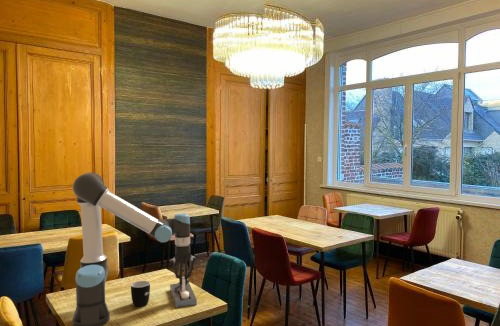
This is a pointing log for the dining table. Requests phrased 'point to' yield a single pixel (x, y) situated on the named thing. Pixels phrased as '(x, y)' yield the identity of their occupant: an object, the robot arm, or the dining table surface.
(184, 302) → the panel
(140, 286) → the mug
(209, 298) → the dining table surface
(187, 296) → the cream button
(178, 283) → the rocker
